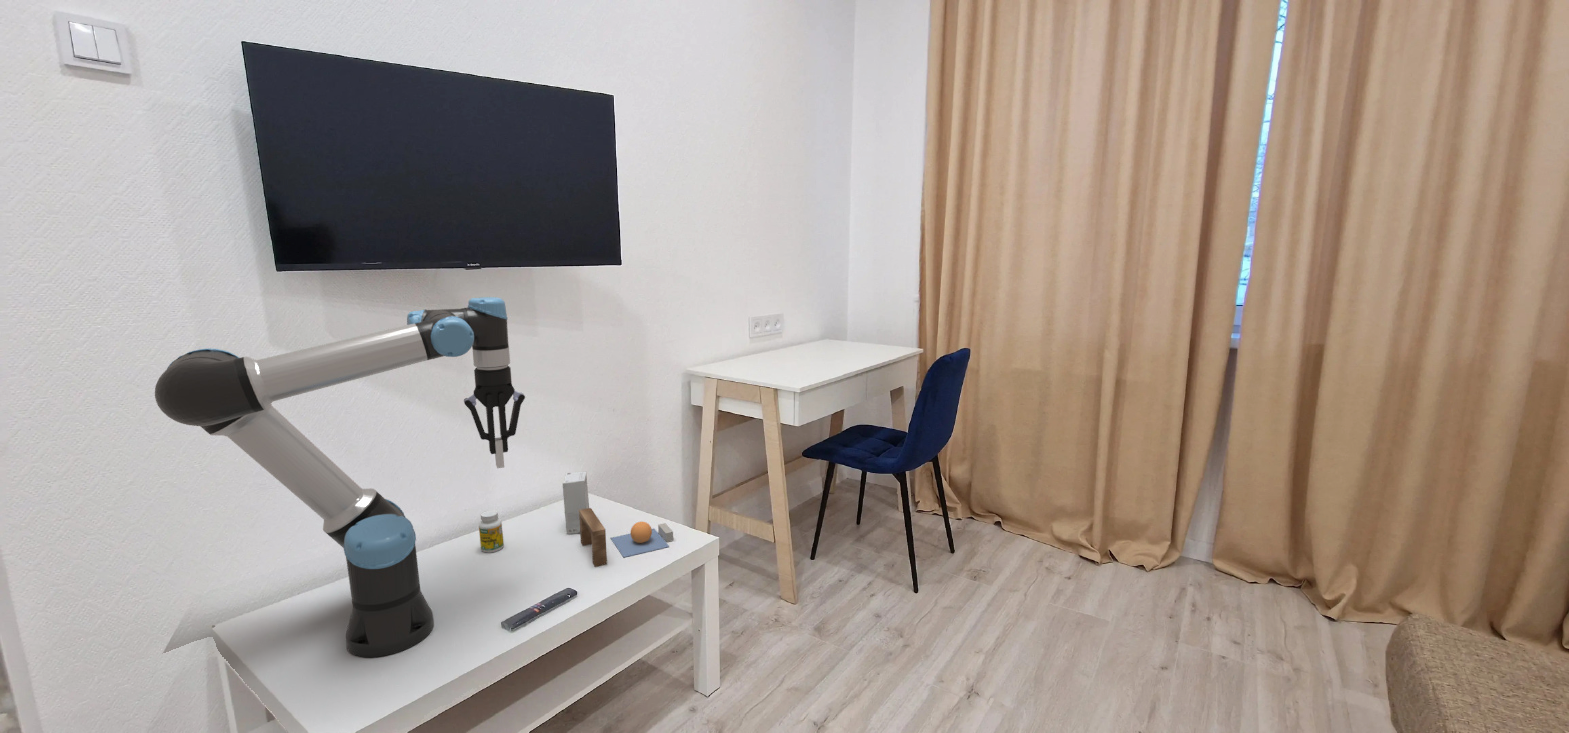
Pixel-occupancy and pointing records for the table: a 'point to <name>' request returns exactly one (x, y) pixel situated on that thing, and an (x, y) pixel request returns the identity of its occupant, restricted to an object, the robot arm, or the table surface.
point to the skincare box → (574, 499)
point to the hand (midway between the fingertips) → (500, 466)
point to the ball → (641, 532)
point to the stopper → (665, 532)
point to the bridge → (593, 536)
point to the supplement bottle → (490, 532)
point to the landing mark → (638, 544)
